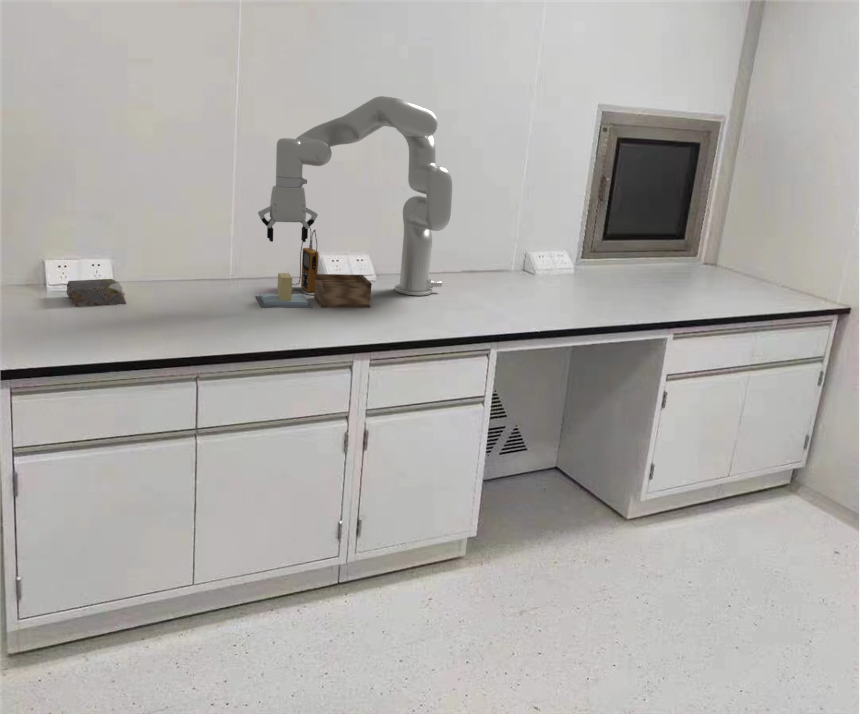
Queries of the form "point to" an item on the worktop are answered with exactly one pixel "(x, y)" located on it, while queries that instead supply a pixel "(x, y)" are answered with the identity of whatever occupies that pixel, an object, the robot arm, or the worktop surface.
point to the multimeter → (309, 267)
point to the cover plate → (277, 302)
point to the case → (342, 290)
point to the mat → (283, 305)
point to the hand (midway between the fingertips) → (287, 240)
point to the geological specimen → (95, 292)
